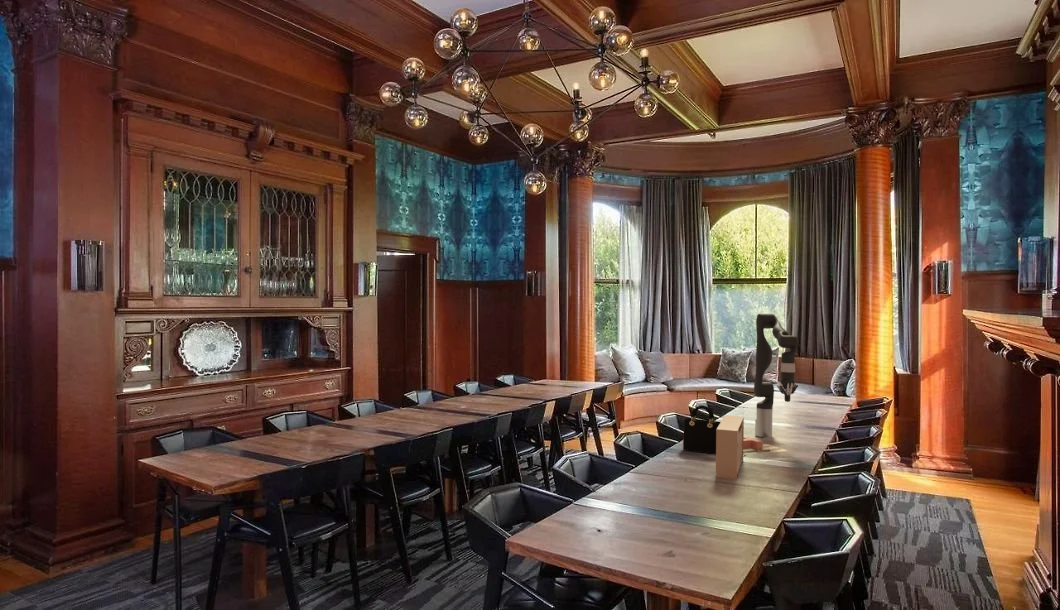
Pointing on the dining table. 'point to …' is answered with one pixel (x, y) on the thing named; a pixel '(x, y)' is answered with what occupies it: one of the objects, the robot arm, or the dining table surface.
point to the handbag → (700, 432)
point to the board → (766, 449)
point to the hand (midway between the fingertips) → (787, 401)
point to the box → (729, 446)
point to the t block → (752, 443)
